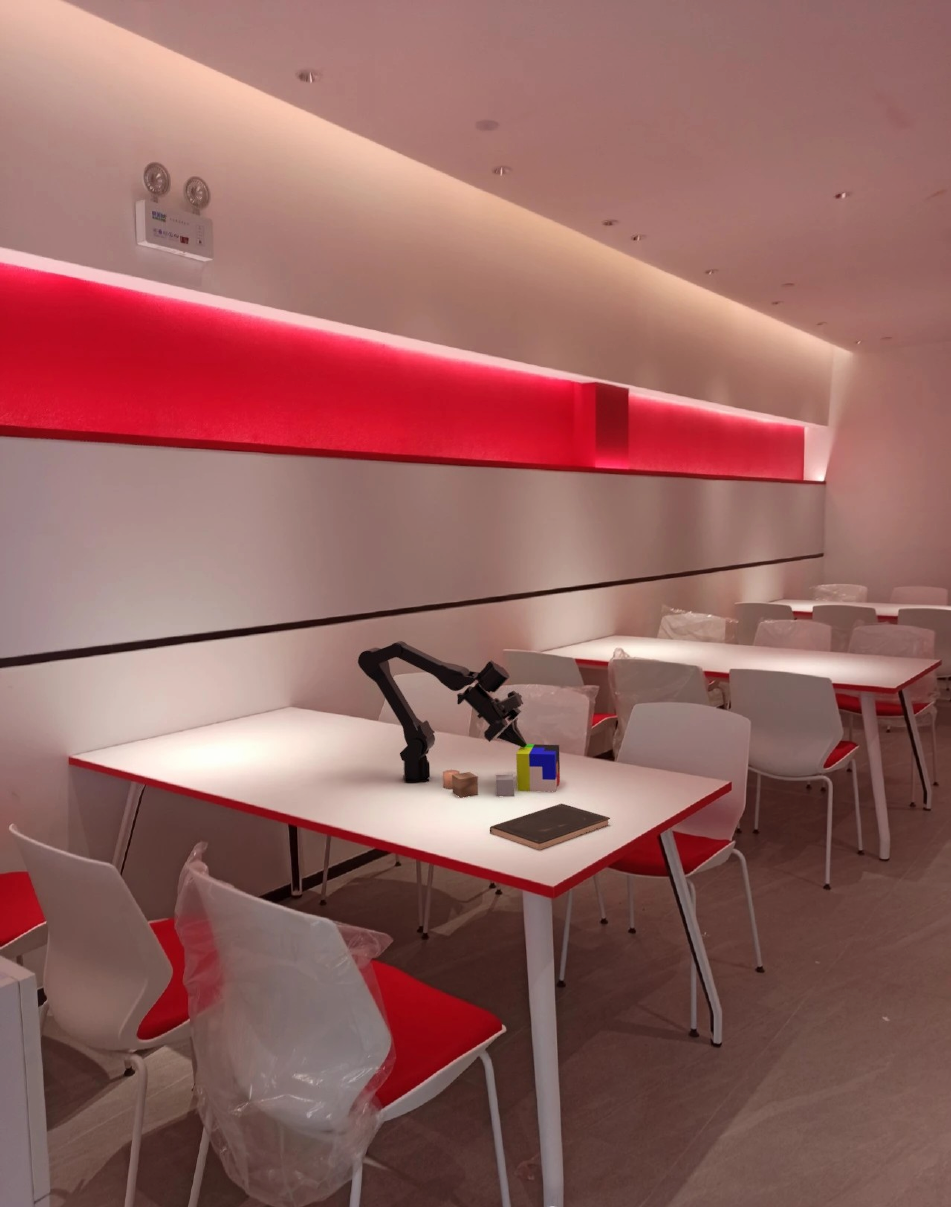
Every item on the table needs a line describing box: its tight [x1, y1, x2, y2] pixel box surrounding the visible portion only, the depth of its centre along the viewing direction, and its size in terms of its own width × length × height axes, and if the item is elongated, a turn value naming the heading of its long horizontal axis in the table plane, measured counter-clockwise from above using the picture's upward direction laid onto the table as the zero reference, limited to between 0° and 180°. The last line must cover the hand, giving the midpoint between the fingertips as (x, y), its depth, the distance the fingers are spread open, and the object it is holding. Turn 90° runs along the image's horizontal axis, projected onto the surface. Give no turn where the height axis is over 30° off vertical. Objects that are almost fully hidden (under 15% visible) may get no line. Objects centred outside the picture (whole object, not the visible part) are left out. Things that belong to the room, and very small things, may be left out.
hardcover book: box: [489, 803, 611, 850], centre depth 216 cm, size 16×23×2 cm
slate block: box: [495, 774, 515, 797], centre depth 244 cm, size 4×4×4 cm
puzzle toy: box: [516, 743, 561, 793], centre depth 249 cm, size 10×10×10 cm
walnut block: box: [451, 771, 479, 799], centre depth 244 cm, size 5×5×5 cm
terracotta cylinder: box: [442, 769, 460, 790], centre depth 251 cm, size 4×4×4 cm
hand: (525, 746), depth 250 cm, fingers closed
